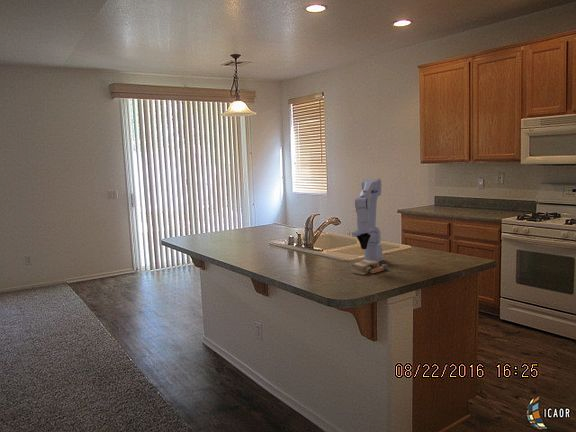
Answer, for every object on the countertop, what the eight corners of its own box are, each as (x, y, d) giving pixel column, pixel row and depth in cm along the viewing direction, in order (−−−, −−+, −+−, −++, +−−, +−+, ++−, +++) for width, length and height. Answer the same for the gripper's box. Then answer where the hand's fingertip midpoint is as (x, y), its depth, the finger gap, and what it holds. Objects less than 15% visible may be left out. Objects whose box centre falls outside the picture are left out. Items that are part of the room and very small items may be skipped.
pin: (353, 270, 235) (353, 264, 235) (361, 268, 239) (360, 262, 239) (366, 273, 229) (366, 267, 229) (374, 271, 233) (373, 265, 232)
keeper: (384, 268, 235) (384, 264, 235) (388, 269, 233) (388, 264, 233) (369, 273, 228) (369, 268, 228) (373, 273, 226) (373, 269, 226)
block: (368, 267, 240) (367, 259, 239) (379, 269, 234) (378, 261, 234) (352, 272, 232) (351, 264, 231) (363, 274, 227) (362, 266, 226)
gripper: (366, 219, 244) (367, 245, 245) (346, 223, 234) (348, 250, 236) (377, 220, 238) (378, 247, 240) (357, 224, 229) (359, 252, 231)
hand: (364, 248), depth 238 cm, fingers closed
